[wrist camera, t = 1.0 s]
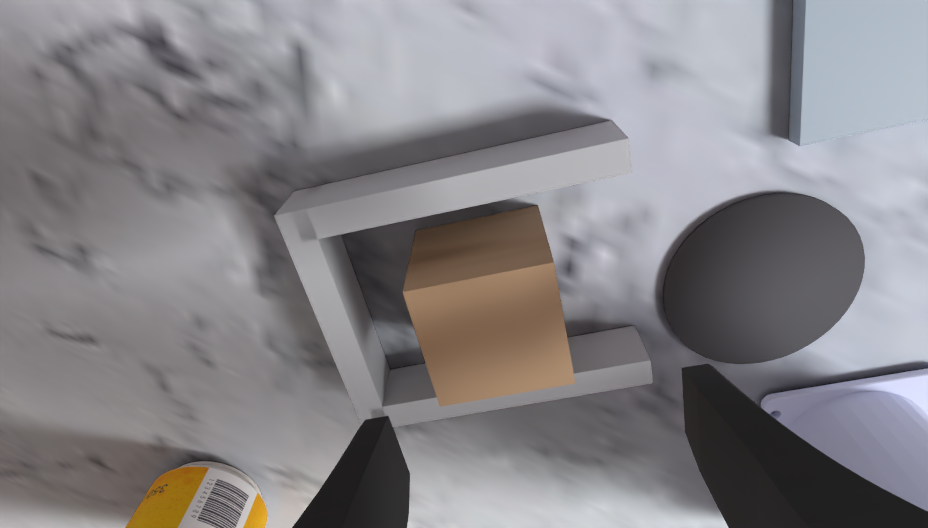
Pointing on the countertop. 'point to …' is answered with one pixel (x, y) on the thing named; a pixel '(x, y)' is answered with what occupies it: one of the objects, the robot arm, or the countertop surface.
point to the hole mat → (763, 278)
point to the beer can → (201, 499)
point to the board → (857, 67)
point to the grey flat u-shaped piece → (428, 193)
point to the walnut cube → (488, 307)
